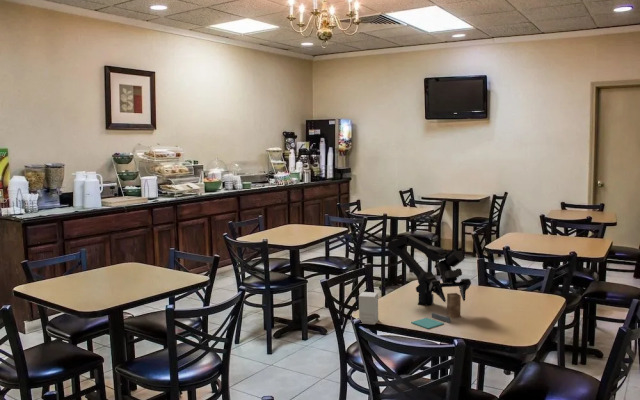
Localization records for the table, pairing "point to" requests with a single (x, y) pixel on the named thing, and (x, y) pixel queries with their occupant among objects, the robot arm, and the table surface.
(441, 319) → the low wall
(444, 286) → the robot arm
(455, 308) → the walnut pillar
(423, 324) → the mat
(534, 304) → the table surface
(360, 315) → the supplement box
